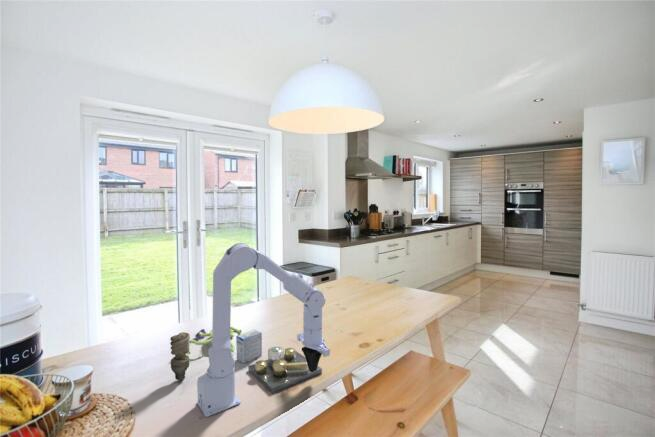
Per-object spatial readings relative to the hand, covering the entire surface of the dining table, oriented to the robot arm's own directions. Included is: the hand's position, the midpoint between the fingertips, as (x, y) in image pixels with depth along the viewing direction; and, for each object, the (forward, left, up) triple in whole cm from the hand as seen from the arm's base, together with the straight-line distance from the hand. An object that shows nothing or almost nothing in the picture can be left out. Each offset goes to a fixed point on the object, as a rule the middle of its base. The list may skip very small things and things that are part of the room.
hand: (312, 370), depth 100 cm
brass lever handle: (-4, +6, -2) cm, 8 cm away
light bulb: (-32, +25, -4) cm, 41 cm away
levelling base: (-4, +10, -3) cm, 11 cm away
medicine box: (-9, +26, -4) cm, 28 cm away
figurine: (-15, +43, -4) cm, 46 cm away
